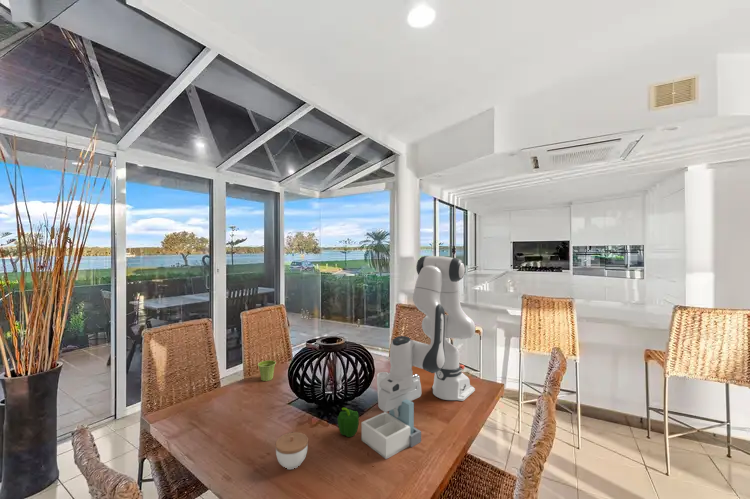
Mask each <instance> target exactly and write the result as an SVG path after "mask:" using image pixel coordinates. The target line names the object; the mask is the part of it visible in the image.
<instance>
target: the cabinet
mask: <svg viewBox="0 0 750 499" xmlns="http://www.w3.org/2000/svg"><path fill="white" fill-rule="evenodd" d="M361 441H362V442H363V443H364V444H366V445H367V446H368V447H369V448H370V449H372V450H373V451H375V452H376V453H378V455H380V456H381V457H382V458H383V459H385V460H388V459H390V458H391V457H393V456H395V455H396V454H398V453H400V452H401V451H403V450H406V449H407V448H409V447H410V448H413V447H415V446H416V445H418V444H420V443H422V431H421V430H420V429H418V428H417V427H415V426H414V433H413V434H411V435H410V426H408V425H406V424H405V423H403V422H401V421H400V420H398V419H396V418H395V417H393V416H391V415H390V414H389V412H384V411H383V412H381V413H379V414H377V415H375V416H373V417H371V418H368V419H365V420H364V421H361Z"/></svg>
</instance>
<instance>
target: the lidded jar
mask: <svg viewBox="0 0 750 499" xmlns="http://www.w3.org/2000/svg"><path fill="white" fill-rule="evenodd" d="M308 444H309V438H308V436H307V435H306V434H305V433H303V432H300V431H294V432H287V433H285V434H283V435H281V436H280V437H278V438H277V439H276V441H275V444H274V445H275V455H276V458H277V462H278V464H279V465H281V466H282V467H283V468H284V467H285V468H287V469H286V470H295V469H297V468H299V467H300V466H301V464H302V463H303V462H304V460H305V459H306V457H307V453H308V447H309V446H308ZM298 466H299V467H298ZM285 468H284V469H285ZM294 468H295V469H294Z"/></svg>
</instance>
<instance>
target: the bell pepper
mask: <svg viewBox="0 0 750 499" xmlns="http://www.w3.org/2000/svg"><path fill="white" fill-rule="evenodd" d="M341 410H342V411H340V412H339V414H338V416H337V425H338V429H339V433H340V434H341V435H342V436H345V437H347V438H351V437H353V436H355V435H356V433H357V432H358V428H359V423H360V422H359V421H360V417H359V412H358V410H352V409H351V408H349V409H348V408H347V407H341Z"/></svg>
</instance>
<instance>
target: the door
mask: <svg viewBox="0 0 750 499" xmlns="http://www.w3.org/2000/svg"><path fill="white" fill-rule="evenodd" d="M414 408H415V402H413V401H409V400H407V399H406V400H404V401H402V405H401V406H399V407H398V409H397V410H398V411H399V412H400V416H399V417H395V415H394V410H393V409H392V410H390V411H388V414H390V415H391V416H393V417H395V418H396V419H398V420H400V421H401V422H403V423H405V424H406V425H408V426H410V435H411V434H413V433H414V427H415V426H414V424H415V422H414V421H415V419H414V418H415V416H414V415H415V411H414V410H415V409H414Z"/></svg>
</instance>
